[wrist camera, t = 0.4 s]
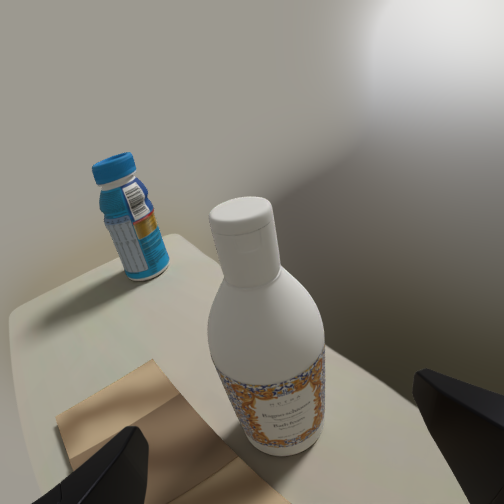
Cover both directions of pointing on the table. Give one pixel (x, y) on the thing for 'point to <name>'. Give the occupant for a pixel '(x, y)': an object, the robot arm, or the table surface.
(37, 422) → the table surface
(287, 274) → the bath foam
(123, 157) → the beverage bottle
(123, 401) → the wooden board
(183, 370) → the table surface
